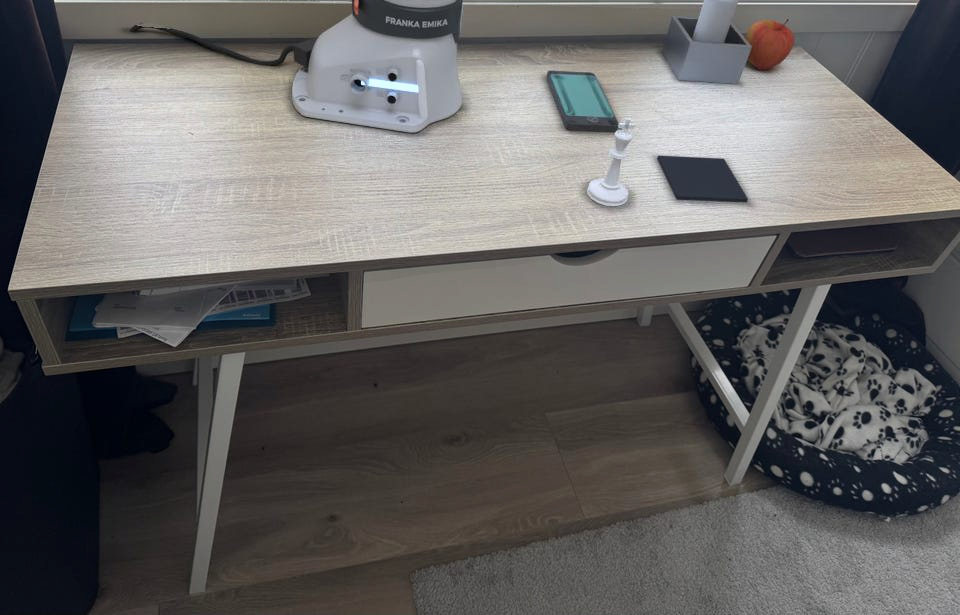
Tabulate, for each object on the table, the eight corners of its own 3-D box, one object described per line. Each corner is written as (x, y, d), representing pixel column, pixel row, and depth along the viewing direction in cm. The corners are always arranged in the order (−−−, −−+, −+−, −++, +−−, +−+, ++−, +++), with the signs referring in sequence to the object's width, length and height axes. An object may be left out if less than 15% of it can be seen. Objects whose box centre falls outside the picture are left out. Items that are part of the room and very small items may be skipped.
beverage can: (714, 77, 114) (741, -1, 106) (683, 71, 115) (708, -7, 106) (713, 64, 118) (739, -12, 110) (683, 58, 118) (707, -18, 110)
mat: (676, 199, 88) (677, 196, 88) (656, 158, 95) (657, 155, 94) (746, 202, 89) (748, 199, 89) (722, 161, 96) (724, 158, 95)
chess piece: (583, 181, 89) (602, 106, 82) (622, 183, 89) (644, 109, 82) (591, 205, 85) (611, 129, 78) (631, 207, 86) (655, 131, 79)
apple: (732, 53, 122) (749, 5, 116) (775, 59, 122) (794, 11, 117) (742, 73, 116) (761, 24, 111) (787, 79, 117) (808, 30, 111)
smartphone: (568, 122, 96) (546, 68, 107) (566, 130, 97) (545, 76, 108) (621, 124, 98) (595, 71, 108) (619, 132, 98) (593, 79, 109)
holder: (678, 80, 112) (690, 42, 108) (661, 52, 119) (672, 15, 115) (738, 84, 113) (752, 46, 109) (717, 56, 120) (730, 19, 116)
